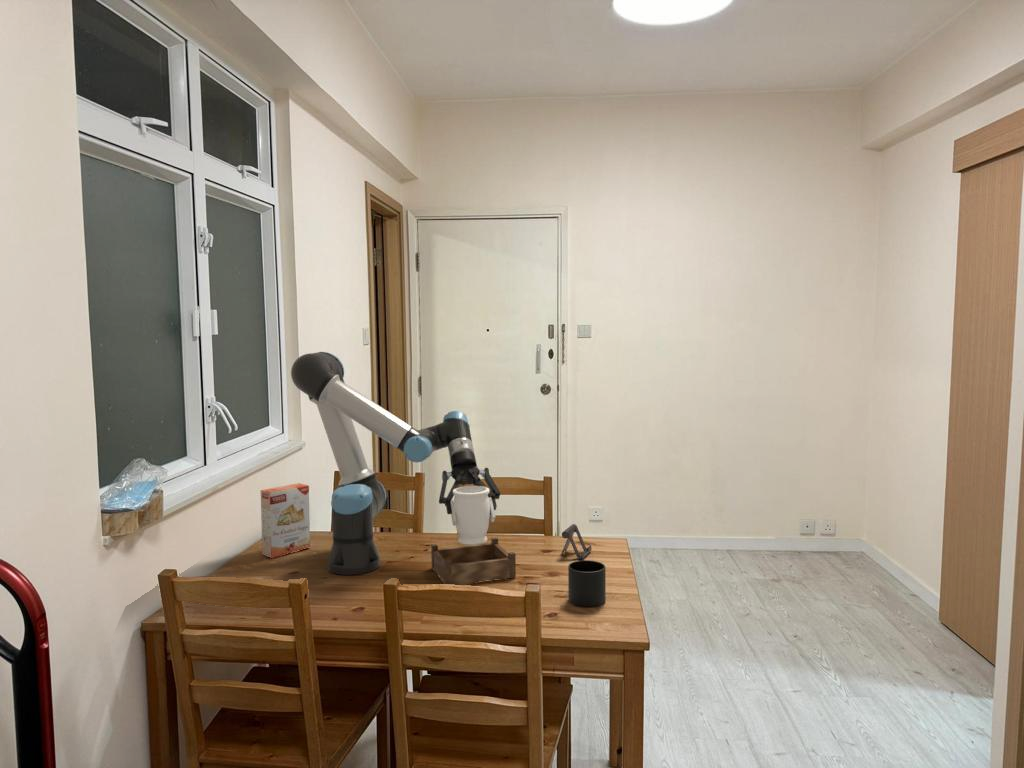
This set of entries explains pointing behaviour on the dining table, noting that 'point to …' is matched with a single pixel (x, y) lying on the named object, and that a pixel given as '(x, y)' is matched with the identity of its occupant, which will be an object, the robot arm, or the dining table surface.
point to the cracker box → (285, 519)
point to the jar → (472, 514)
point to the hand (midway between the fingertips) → (474, 521)
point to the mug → (587, 583)
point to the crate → (473, 563)
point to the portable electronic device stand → (569, 534)
